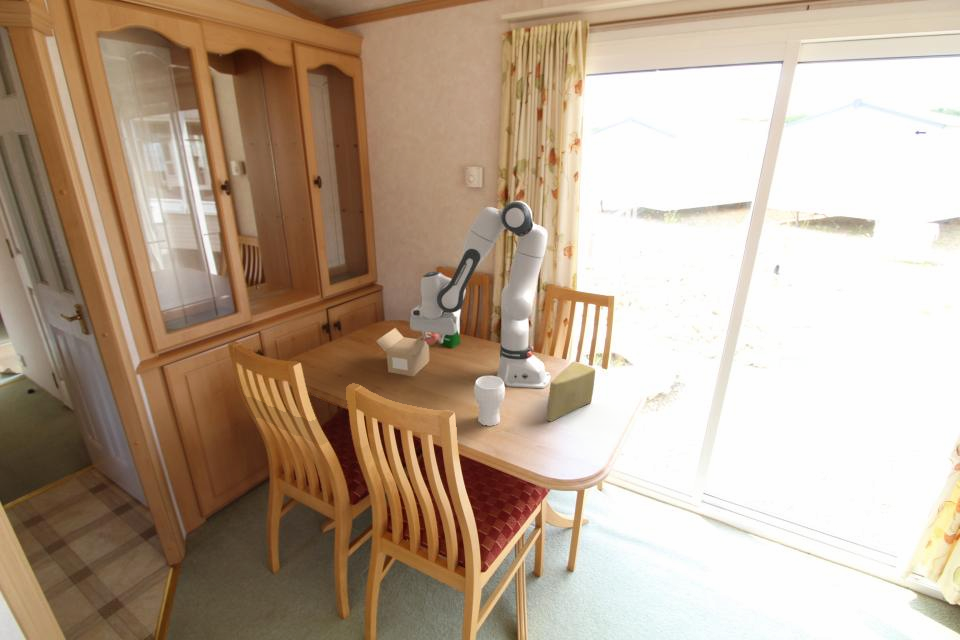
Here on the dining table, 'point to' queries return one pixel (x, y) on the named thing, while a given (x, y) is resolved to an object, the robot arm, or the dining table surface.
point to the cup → (489, 399)
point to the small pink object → (425, 341)
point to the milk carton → (453, 339)
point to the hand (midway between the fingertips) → (434, 341)
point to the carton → (406, 358)
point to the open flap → (389, 339)
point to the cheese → (570, 390)
